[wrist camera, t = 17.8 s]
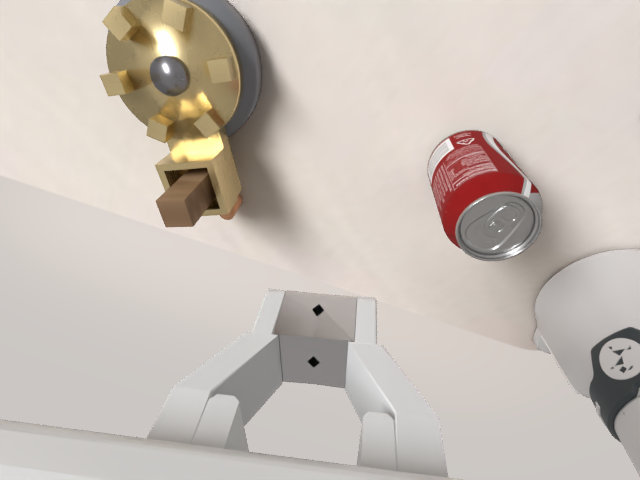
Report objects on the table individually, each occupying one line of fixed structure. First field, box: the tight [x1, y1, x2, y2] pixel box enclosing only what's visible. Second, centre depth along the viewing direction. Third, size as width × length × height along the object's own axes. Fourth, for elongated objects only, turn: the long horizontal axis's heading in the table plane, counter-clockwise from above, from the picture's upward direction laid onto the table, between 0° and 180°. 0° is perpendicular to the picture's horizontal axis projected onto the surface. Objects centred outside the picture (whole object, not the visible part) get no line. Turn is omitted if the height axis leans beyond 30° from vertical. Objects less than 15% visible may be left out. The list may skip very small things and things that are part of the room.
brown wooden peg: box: [156, 168, 216, 227], centre depth 32 cm, size 2×2×7 cm
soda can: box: [427, 130, 542, 261], centre depth 30 cm, size 7×7×12 cm
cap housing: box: [108, 0, 262, 220], centre depth 33 cm, size 16×18×3 cm
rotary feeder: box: [100, 0, 244, 216], centre depth 31 cm, size 17×11×4 cm, turn 7°
